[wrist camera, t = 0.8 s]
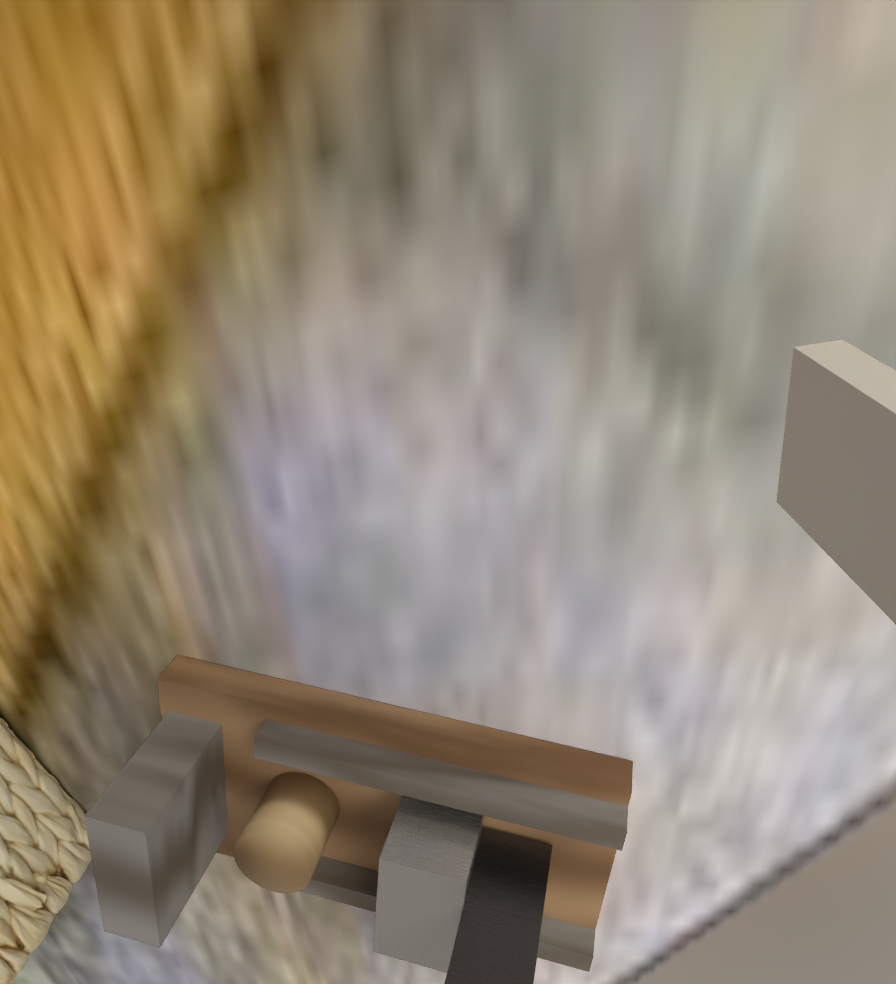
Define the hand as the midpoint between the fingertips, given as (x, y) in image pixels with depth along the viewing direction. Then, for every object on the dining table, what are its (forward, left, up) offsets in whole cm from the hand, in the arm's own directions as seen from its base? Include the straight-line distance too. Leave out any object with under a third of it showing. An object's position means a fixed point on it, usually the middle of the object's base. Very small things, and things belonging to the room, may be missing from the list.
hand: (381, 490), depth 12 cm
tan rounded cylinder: (+28, -8, -18) cm, 35 cm away
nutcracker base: (+28, -4, -20) cm, 35 cm away
